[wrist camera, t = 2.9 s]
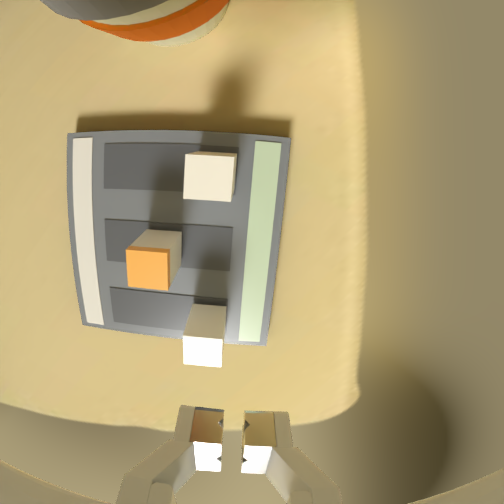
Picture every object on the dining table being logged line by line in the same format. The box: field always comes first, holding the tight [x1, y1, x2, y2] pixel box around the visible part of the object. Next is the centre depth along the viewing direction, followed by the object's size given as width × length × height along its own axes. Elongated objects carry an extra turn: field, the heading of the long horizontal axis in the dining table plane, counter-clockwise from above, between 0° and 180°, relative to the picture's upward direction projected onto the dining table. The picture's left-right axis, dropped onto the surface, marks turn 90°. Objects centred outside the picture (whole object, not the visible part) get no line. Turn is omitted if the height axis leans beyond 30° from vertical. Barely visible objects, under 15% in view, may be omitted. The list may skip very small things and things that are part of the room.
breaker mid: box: [126, 229, 182, 291], centre depth 24 cm, size 3×3×5 cm
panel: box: [67, 130, 291, 346], centre depth 27 cm, size 19×19×2 cm
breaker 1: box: [183, 151, 237, 202], centre depth 22 cm, size 3×3×5 cm
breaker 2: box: [183, 304, 226, 367], centre depth 26 cm, size 3×3×5 cm
